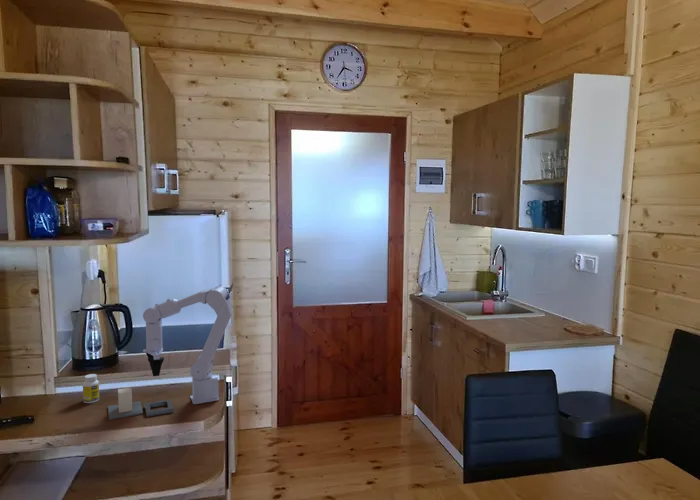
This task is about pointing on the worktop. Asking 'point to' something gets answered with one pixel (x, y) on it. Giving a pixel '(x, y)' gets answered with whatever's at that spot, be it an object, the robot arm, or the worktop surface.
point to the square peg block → (125, 399)
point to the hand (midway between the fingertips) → (155, 372)
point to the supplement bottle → (90, 389)
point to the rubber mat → (114, 412)
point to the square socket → (159, 411)
